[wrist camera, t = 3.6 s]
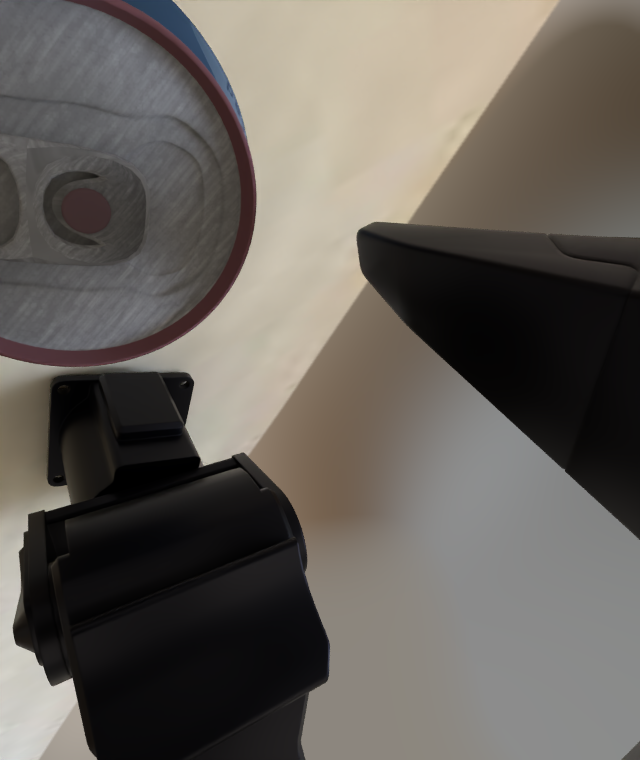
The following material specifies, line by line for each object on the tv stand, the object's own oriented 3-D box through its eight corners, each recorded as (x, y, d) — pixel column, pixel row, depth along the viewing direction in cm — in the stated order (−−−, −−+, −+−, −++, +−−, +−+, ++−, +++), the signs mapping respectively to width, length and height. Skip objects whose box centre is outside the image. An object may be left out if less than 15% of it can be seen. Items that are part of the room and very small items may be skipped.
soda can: (144, -3, 16) (330, 20, 8) (133, 211, 19) (251, 380, 11) (-148, -104, 12) (-392, -271, 4) (-94, 186, 15) (-163, 417, 7)
